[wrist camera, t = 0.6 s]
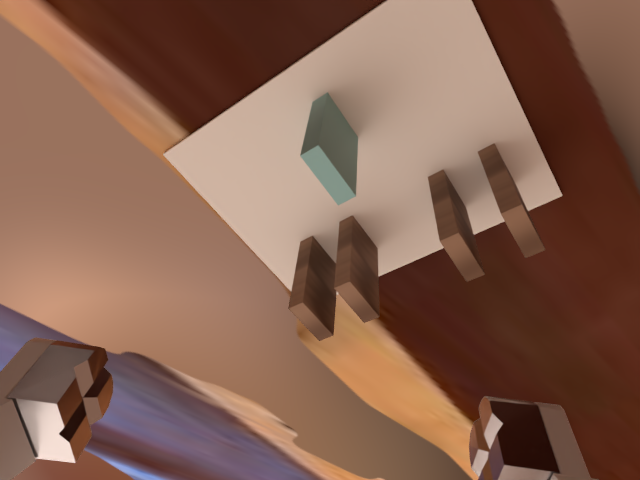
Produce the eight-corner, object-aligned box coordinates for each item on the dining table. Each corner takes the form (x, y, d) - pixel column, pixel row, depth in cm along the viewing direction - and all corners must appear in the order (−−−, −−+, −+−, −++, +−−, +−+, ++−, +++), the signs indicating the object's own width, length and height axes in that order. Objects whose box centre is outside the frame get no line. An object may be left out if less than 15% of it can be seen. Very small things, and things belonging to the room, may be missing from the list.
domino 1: (300, 241, 53) (288, 308, 45) (312, 235, 52) (302, 302, 45) (326, 272, 55) (319, 340, 48) (338, 266, 55) (333, 335, 47)
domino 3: (427, 177, 47) (439, 241, 39) (443, 169, 47) (458, 232, 39) (450, 214, 50) (466, 281, 42) (466, 207, 49) (484, 274, 41)
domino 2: (339, 221, 51) (334, 288, 43) (352, 215, 50) (349, 281, 43) (364, 254, 53) (364, 322, 46) (377, 248, 53) (379, 316, 45)
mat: (164, 152, 48) (163, 154, 48) (450, -45, 36) (451, -44, 36) (306, 305, 59) (306, 308, 59) (561, 193, 48) (562, 195, 47)
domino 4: (477, 151, 45) (500, 213, 37) (494, 143, 45) (521, 204, 37) (499, 191, 48) (525, 258, 40) (515, 184, 47) (545, 249, 39)
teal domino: (312, 102, 44) (299, 155, 36) (327, 92, 43) (318, 144, 35) (343, 145, 46) (338, 205, 38) (358, 137, 45) (355, 196, 37)
